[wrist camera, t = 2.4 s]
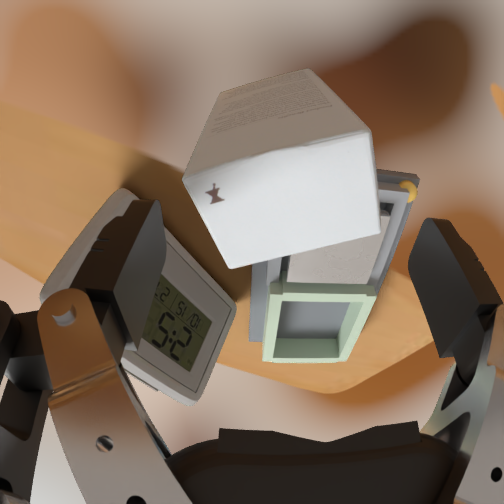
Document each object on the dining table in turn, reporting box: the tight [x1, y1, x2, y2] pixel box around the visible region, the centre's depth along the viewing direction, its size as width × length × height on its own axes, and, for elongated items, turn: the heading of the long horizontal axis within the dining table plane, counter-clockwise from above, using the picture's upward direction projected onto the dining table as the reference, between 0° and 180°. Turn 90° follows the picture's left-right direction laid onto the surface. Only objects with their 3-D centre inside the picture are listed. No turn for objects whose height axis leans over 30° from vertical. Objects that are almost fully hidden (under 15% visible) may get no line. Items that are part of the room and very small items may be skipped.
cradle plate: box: [286, 210, 390, 284], centre depth 23 cm, size 7×7×1 cm
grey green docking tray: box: [249, 169, 420, 363], centre depth 27 cm, size 12×21×3 cm, turn 178°
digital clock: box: [40, 188, 237, 406], centre depth 24 cm, size 16×9×11 cm, turn 20°
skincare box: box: [182, 68, 381, 269], centre depth 15 cm, size 6×4×12 cm
